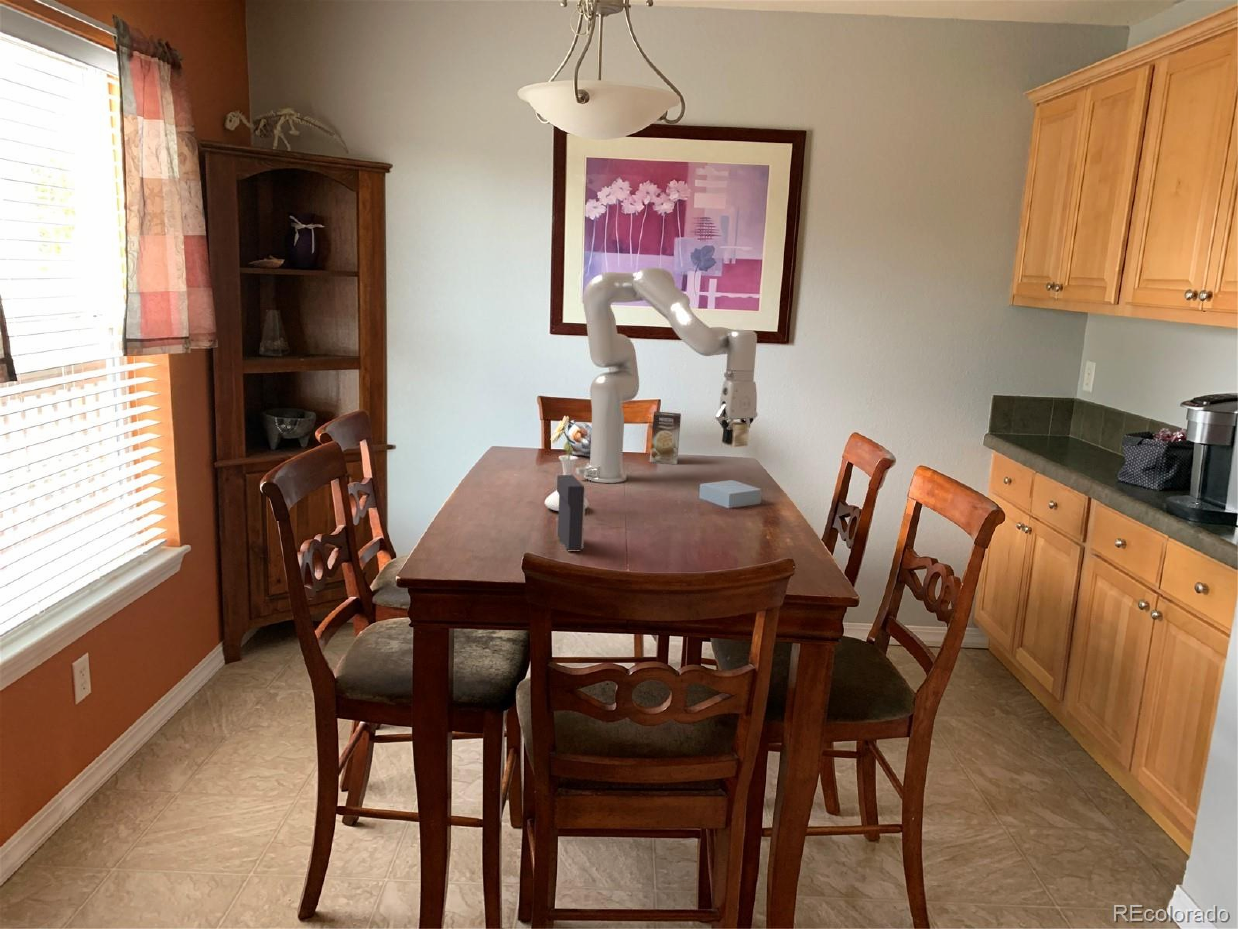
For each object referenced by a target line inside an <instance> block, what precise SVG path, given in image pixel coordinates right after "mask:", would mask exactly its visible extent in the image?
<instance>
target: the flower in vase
mask: <svg viewBox="0 0 1238 929" xmlns="http://www.w3.org/2000/svg"><path fill="white" fill-rule="evenodd" d="M569 419H570V417H569V415H567V416H566V415H564V416H563V418H562V420H559V422H558V425H557V427H556V428H555V429H554V430H553V434H554V435H552V437H551V438H550V441H551V442H550V443H551V444H555V443H557V441H558V440H559V439H560V438H561V437H562V435H563V434H564V436H565V438H566V442H565V443H564V445H563V450H565V451H566V454H564V455H559V456H558V459H559V460H560V462H561V465H562V472H563V474H562V475H573V472H574V467H575V464H576V462H577V461H578V460H579V457H578V456H577V455H574V456H573V455H571V454H572V453H571V452H572V451H573V448H572V447H571V446H570V442H569V439H568V437H567V433H566V431H565V430H566V428H568V425H569V423H568V421H570V420H569ZM589 504H590V503H589V500H587V498H586V497H585V501H584V505H585V510H586V509H587V508H588V506H589ZM544 505H545V506H546V507H547V508H548V509H550V510H553V511H557V512H559V493H558V492H557V489H556V490H555V491H553V492H552V493H551V494H550V495H548V496H547V497H546V498H545V500H544Z"/></svg>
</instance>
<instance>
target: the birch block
mask: <svg viewBox="0 0 1238 929" xmlns="http://www.w3.org/2000/svg"><path fill="white" fill-rule="evenodd" d="M727 423H728V421H727ZM731 430H733V432H732V443H731V444H726V443H723V442H722V441H721V444H722V445H725V446H729V447H732V448H737V447H739V448H740V447H748V443H749V432H750V431H749V430H750V428H749V424H747V423H743V422H740V421H738V420H733V424H732V427H731ZM721 434H722V435H721V439H722V438H723V430H722V431H721Z"/></svg>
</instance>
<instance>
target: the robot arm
mask: <svg viewBox="0 0 1238 929" xmlns="http://www.w3.org/2000/svg"><path fill="white" fill-rule="evenodd" d="M675 284H676V283H675V278H674V276H673V275H672V273H671V272H670V271H669V270H667V269H665V268H661V267H644V268H642V269H640V270H638V271H636V272H634V271H633V272H614V271H612V272H610V271H609V272H607V271H606V272H603V273H600V274H597V275H595V276H594V277H592V278H591V279H590V281H589V282H588V283H587V284H586V286H585V288H584V291H583V296H582V302H583V311H584V316H585V321H586V331H587V339H588V346H589V354H590V359H591V362H592V363H593V364H594V365H595V366H596V367H597V368H602V369H603V368H608V372H603V373H600V374H599V375H597V376H596V377H595V378H594V379H593V380H592V382H591V384H590V388H589V396H590V404H591V428H592V429H591V450H590V456H589V462H587V463H586V465H585V466H584V467H583V466H580V467H576V468H575V474H576V475H582V474H583V478H584V479H586V480H587V479H588V480H587V481H590V480H591V482H595V483H604V484H607V483H608V484H614V483H615V484H616V483H622V482H625V481H626V480H627V475H626V473H624V472H622V470H623V468H622V467H623V451H624V450H623V449H624V435H625V434H624V429H625V414H624V410H623V403H628V402H631V401H632V400H634V399H635V398H636V397H637V395H638V394H639V390H640V377H639V369H638V361H637V355H636V354H637V353H636V349H635V345H634V343H633V342H632V340H631V339H630V338H629V337H628V336H626V335H625V334H622V333H618V329H617V320H616V317H615V316H616V315H615V314H614V312H613V309H612V307H611V304H613V303H623V304H624V303H625V304H626V303H633V302H643V301H644V302H646V303H647V304H648V305H650V306H651V307H652V308H653V309H654V310H655V311H657V312H658V313H659V315H661V316H662V317H664V318H665V320H667V321H668V324H669V325H670V327H671V329H672V330H673V331H674V333H675V334H676V336H678V338H679V339H680V340H681V341H683V342H684V343H685V344H686V345H687V346H689V348H690V349H692V350H693V351H694V352H696V353H698V354H699V355H700V356H703V357H713V356H719V355H726V356H727V357H726V368H725V369H726V371H725V372H724V373H723V375H724V376H723V377H724V378H725V380H724V381H723V384H722V388H721V393H720V399H719V400H720V401H719V407H718V408H719V410H718V411H717V413H716V414H715V416H714V418H715V420H716V421H717V422H718V424H720V427H721V428H722V431H723V438H722V437H721V443H722V442H723V443H726V444H731V443H732V432H733V430H731V427H732V424H733V421H735V420H739V422H743V423H747V424H749V429H750V428H751V425H752V423H753V422H754V420H755V419H756V418H757V417H758V415H759V414H758V412H757V405H758V404H757V402H758V397H757V396H758V395H757V393H758V392H757V383H756V381H754V380H755V379H754V378H755V369H756V368H755V367H756V366H755V365H756V353H757V341H758V335H757V333H756V332H755V331H753V330H748V329H733V328H732V329H731V328H727V327H724V326H723V327H722V326H714V327H713V326H712V327H709V326H708V325H707V324H705V323H704V322H703V321H702V320H701V319H700V318H698V317H697V316H696V315H695V313H694V312H693V311H692V309H691V306H690V304H691V299H690V297H689V296H688V295H687V294H685V293H684V291H682V290H681V289H679V288H678V287H677V285H675ZM727 422H728V423H727Z"/></svg>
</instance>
